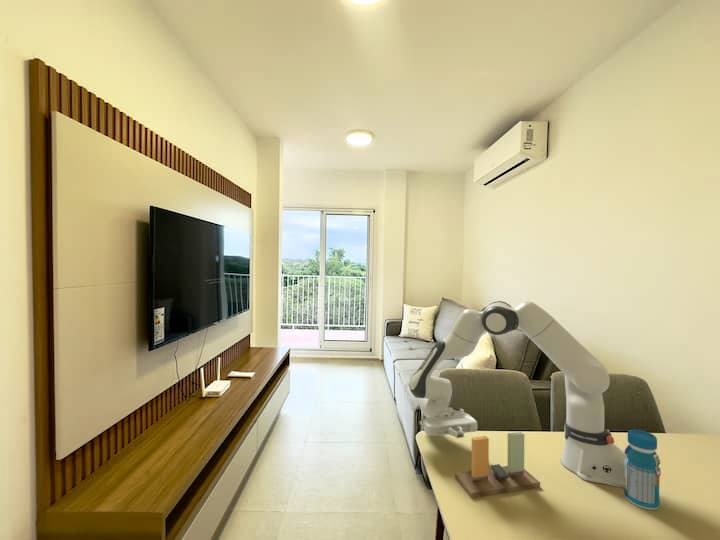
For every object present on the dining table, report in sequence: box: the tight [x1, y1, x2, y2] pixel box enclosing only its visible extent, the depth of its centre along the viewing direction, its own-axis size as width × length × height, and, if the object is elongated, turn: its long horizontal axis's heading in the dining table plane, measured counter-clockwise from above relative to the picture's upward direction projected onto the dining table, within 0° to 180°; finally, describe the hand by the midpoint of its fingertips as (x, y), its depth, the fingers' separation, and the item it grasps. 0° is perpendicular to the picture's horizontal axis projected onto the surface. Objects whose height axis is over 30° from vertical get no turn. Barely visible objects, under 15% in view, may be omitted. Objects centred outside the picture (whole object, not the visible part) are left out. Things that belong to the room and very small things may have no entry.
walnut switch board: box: [454, 465, 541, 499], centre depth 110 cm, size 24×10×2 cm, turn 102°
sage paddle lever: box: [507, 431, 525, 476], centre depth 111 cm, size 5×2×13 cm, turn 102°
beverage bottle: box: [623, 429, 662, 511], centre depth 101 cm, size 8×8×20 cm
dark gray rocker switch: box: [490, 463, 509, 480], centre depth 110 cm, size 3×5×2 cm, turn 12°
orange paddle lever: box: [471, 435, 490, 481], centre depth 108 cm, size 5×2×13 cm, turn 102°
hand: (460, 435), depth 120 cm, fingers closed
